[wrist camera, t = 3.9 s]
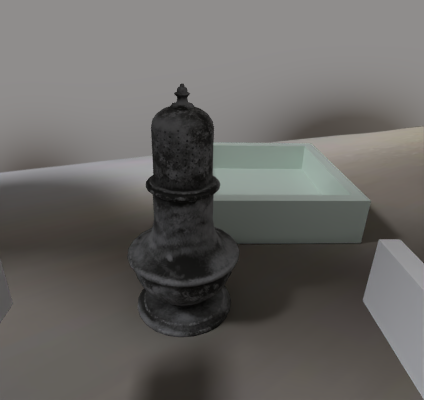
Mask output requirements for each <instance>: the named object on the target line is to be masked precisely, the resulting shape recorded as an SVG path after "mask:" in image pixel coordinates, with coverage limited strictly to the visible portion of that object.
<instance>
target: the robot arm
mask: <svg viewBox="0 0 424 400" xmlns="http://www.w3.org/2000/svg"><path fill="white" fill-rule="evenodd" d="M363 302H364V304H365V305H366V307H367V308H368V310H369V312H370V313H371V315H372V317H373V318H374V320H375V321H376V323H377V325H378V326H379V328H380V329H381V331H382V333H383V334H384V336H385V338H386V339H387V341H388V342H389V344H390V346H391V347H392V349H393V351H394V352H395V354H396V355H397V357H398V359H399V360H400V362H401V364H402V365H403V367H404V368H405V370H406V372H407V373H408V375H409V377H410V378H411V380H412V381H413V383H414V385H415V386H416V388H417V390H418V391H419V393H420V394H421V396H422V398H423V399H424V263H423V262H422V261H421V260H420V259H419V258H418V257H417V256H416V255H415V254H414V253H413V252H412V251H411V250H410V249H409V248H408V247H407V246H406V245H405V244H404V243H403V242H402V241H401V240H400V239H379V241H378V245H377V249H376V252H375V256H374V260H373V264H372V267H371V271H370V275H369V278H368V282H367V286H366V290H365V293H364V297H363ZM12 305H13V302H12V298H11V295H10V291H9V287H8V284H7V280H6V277H5V273H4V270H3V266H2V263H1V259H0V323H1V321H2V320H3V318H4V317H5V315H6V314H7V312H8V311H9V309H10V308H11V306H12Z"/></svg>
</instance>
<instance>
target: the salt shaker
mask: <svg viewBox="0 0 424 400" xmlns="http://www.w3.org/2000/svg"><path fill="white" fill-rule="evenodd" d="M174 94H175V95H176V96H177V102H176V103H172V105H171V106H170V107H166V108H164V109H162V110H161V111H160V112H158V113H157V114H156V115H155V117H154V118H153V120H152V125H151V132H152V153H153V173H154V175H153V176H151V177H150V178H149V179H148V180H147V181H146V188H147V190H148V191H149V192H150V193H152V194H153V205H154V223H153V228H151V229H149V230H147V231H145V232H143V233H142V234H140V235H139V236H138V237H137V238H136V239H135V240H134V241H133V242H132V244H131V245H130V247H129V250H128V256H127V257H128V261H129V264H130V267H131V268H132V269H133V270H134V271H135V272H136V275H137V278H138V279H139V281H140V283H141V284H142V286H143V287H144V289H143V290H142V292H141V294H140V296H139V298H138V311H139V314H140V317H141V318H142V320H143V321H144V322H145V324H146V325H147V326H149V327H150V328H152V329H153V330H155V331H157V332H159V333H162V334H165V335H168V336H176V337H188V336H196V335H199V334H203V333H206V332H208V331H210V330H212V329H214V328H215V327H217V326H218V325H219V324H220V323H221V322H222V321H223V320H224V319H225V318H226V316H227V314H228V312H229V310H230V302H231V300H230V296H229V292H228V291H227V289H226V288H225V286H224V284H225V283H226V281H227V279H228V278H229V276H230V274H231V271H232V269H233V268H234V266H235V265H236V263H237V262H238V257H239V249H238V246H237V243H236V242H235V241H234V239H233V238H232V237H231V236H230V235H229V234H227V233H226V232H224V231H223V230H221V229H219V228H216V227H214V222H213V198H214V194H215V193H216V192H217V191H218V190H219V188H220V182H219V180H218V179H217V178H216V177H215V176H213V139H214V126H213V121H212V120H211V118H210V117H209V115H208V114H207V113H206V112H204V111H203V110H201V109H199V108H196V107H194V105H193V104H192V103H188V100H187V97H188V95H189V94H190V93H188V92H187V88H186V87H184V84H180V87H178V88H177V92H175V93H174Z"/></svg>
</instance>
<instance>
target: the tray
mask: <svg viewBox="0 0 424 400" xmlns="http://www.w3.org/2000/svg"><path fill="white" fill-rule="evenodd" d="M213 176H215V177H216V178H217V179H218V180H219V182H220V188H219V190H218V191H217V192H216V193H215V194H214V198H213V222H214V227H216V228H219V229H221V230H223V231H224V232H226V233H227V234H229V235H230V236H231V237H232V238H233V239H234V241H235V242H236V243H237V244H296V243H361V241H362V237H363V233H364V228H365V224H366V220H367V216H368V212H369V208H370V204H371V200H370V199H369V198H368V197H366V196H365V195H364V194H363V193H362V192H361V191H360V190H359V189H358V188H357V187H356V186H355V185H354V184H353V183H352V182H351V181H350V180H349V179H348V178H347V177H346V176H345V175H344V174H343V173H342V172H341V171H340V170H338V169H337V168H336V167H335V166H334V165H333V164H332V163H331V162H330V161H329V160H328V159H327V158H326V157H325V156H324V155H323V154H322V153H321V152H320V151H319V150H318V149H317V148H316V147H315V146H314V145H313V144H311V143H213Z"/></svg>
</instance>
